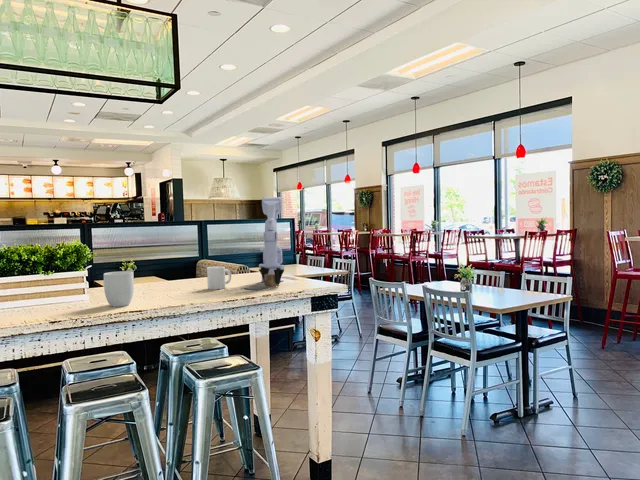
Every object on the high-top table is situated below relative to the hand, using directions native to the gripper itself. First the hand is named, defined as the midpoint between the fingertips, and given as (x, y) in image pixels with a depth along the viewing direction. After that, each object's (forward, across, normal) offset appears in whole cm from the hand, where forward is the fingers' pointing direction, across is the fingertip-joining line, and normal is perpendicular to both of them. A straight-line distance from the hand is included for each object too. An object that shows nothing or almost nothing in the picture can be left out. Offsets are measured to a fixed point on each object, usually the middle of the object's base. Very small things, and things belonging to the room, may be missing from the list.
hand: (271, 283), depth 236 cm
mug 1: (+2, -22, -67) cm, 71 cm away
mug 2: (+2, -19, -16) cm, 25 cm away
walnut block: (+2, 0, 0) cm, 2 cm away
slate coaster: (+1, -2, -9) cm, 9 cm away
